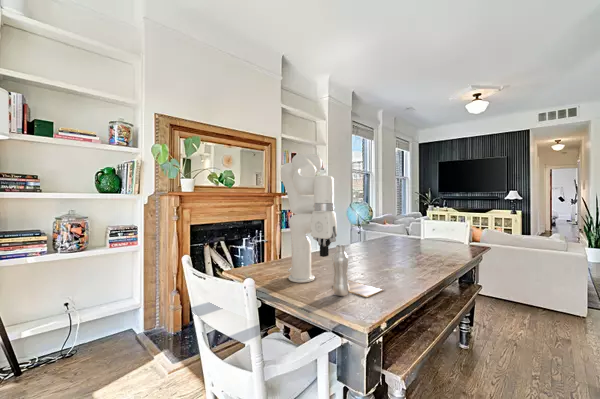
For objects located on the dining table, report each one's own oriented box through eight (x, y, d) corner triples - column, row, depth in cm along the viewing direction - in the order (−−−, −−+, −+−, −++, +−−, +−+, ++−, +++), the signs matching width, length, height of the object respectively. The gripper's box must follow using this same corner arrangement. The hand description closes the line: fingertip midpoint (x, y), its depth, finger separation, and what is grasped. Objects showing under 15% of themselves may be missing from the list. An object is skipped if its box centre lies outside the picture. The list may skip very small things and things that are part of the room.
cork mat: (332, 286, 125) (332, 285, 125) (349, 281, 133) (349, 280, 133) (366, 297, 111) (366, 296, 111) (383, 290, 119) (383, 289, 119)
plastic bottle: (345, 299, 110) (345, 248, 110) (329, 295, 114) (329, 246, 113) (351, 294, 116) (351, 245, 115) (336, 291, 119) (336, 244, 119)
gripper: (303, 207, 110) (303, 254, 111) (332, 208, 99) (332, 260, 100) (316, 207, 115) (317, 252, 116) (345, 208, 104) (345, 257, 105)
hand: (324, 256), depth 108 cm, fingers closed
